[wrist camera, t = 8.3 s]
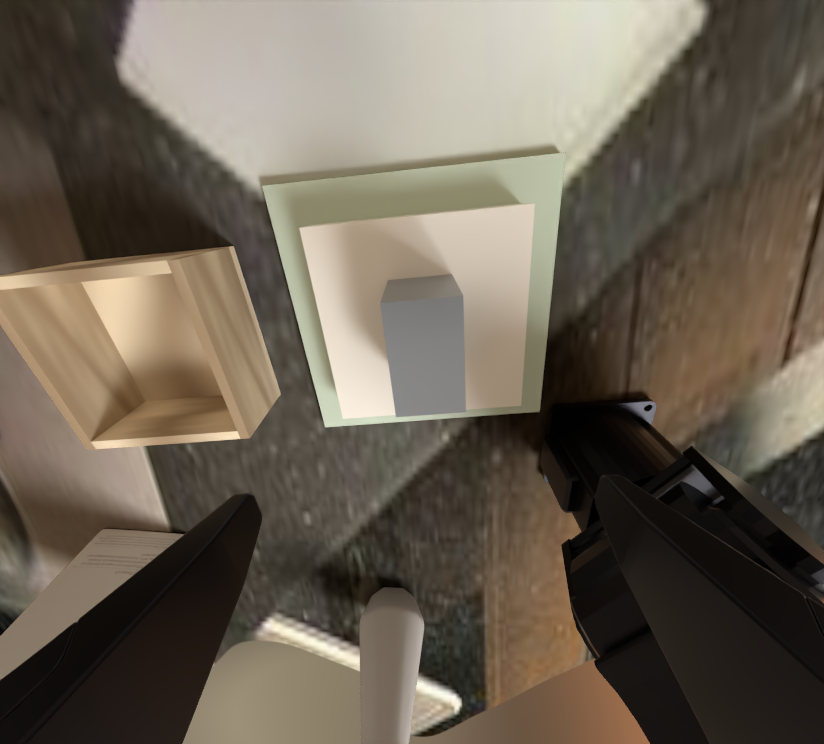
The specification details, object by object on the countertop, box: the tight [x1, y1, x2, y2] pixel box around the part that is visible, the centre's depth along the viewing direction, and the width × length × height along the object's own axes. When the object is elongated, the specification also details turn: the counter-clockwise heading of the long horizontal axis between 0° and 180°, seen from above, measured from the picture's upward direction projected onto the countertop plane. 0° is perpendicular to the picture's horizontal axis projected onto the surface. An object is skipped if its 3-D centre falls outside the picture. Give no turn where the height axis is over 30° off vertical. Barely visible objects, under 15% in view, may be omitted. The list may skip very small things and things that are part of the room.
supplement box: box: [0, 529, 184, 680], centre depth 23 cm, size 7×7×13 cm
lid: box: [299, 203, 535, 419], centre depth 16 cm, size 10×10×6 cm
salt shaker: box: [360, 587, 424, 744], centre depth 26 cm, size 6×6×13 cm
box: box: [0, 246, 281, 450], centre depth 17 cm, size 9×9×4 cm
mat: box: [262, 152, 566, 427], centre depth 19 cm, size 14×14×1 cm
